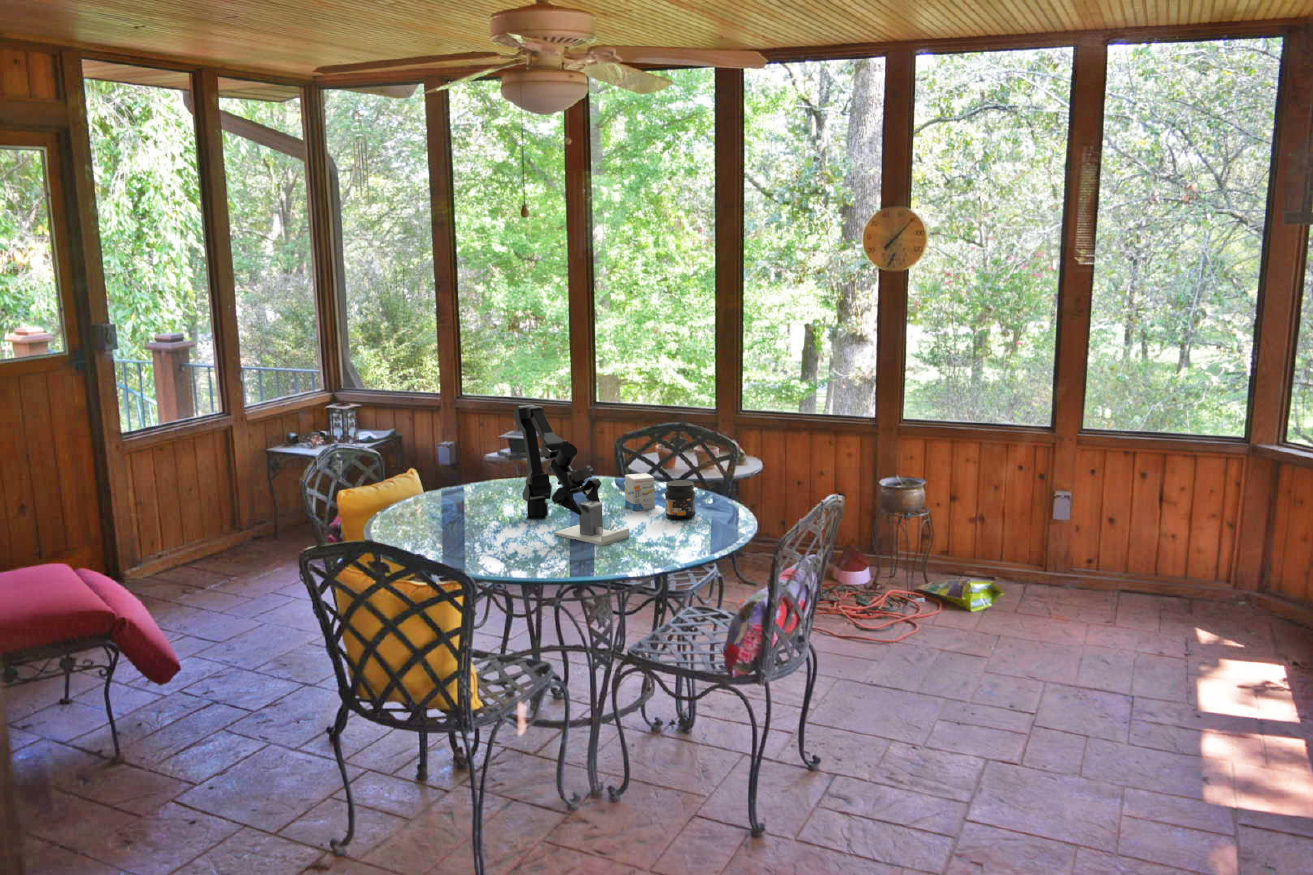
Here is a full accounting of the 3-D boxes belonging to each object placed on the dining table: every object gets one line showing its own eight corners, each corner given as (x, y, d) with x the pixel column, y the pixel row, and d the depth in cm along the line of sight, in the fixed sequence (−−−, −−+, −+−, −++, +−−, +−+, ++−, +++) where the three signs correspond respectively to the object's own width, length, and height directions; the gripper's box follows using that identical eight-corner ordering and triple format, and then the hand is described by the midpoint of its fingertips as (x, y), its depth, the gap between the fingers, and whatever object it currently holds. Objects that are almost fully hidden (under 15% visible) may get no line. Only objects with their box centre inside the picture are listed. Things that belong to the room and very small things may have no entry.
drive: (579, 533, 345) (579, 503, 344) (591, 530, 350) (590, 500, 348) (591, 536, 342) (590, 505, 341) (602, 532, 347) (602, 502, 345)
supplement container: (660, 519, 367) (659, 484, 365) (672, 512, 376) (672, 478, 374) (688, 521, 362) (688, 487, 360) (700, 514, 372) (700, 480, 370)
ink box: (633, 511, 378) (632, 478, 376) (624, 506, 386) (624, 474, 384) (655, 508, 382) (655, 476, 379) (647, 503, 389) (646, 472, 387)
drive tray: (554, 534, 349) (553, 524, 348) (579, 527, 358) (579, 517, 357) (604, 545, 335) (603, 534, 334) (629, 537, 344) (629, 526, 343)
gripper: (556, 463, 338) (583, 502, 333) (596, 454, 352) (622, 491, 347) (540, 484, 344) (565, 523, 340) (579, 474, 359) (605, 511, 354)
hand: (590, 511), depth 345 cm, fingers open, 9 cm apart
